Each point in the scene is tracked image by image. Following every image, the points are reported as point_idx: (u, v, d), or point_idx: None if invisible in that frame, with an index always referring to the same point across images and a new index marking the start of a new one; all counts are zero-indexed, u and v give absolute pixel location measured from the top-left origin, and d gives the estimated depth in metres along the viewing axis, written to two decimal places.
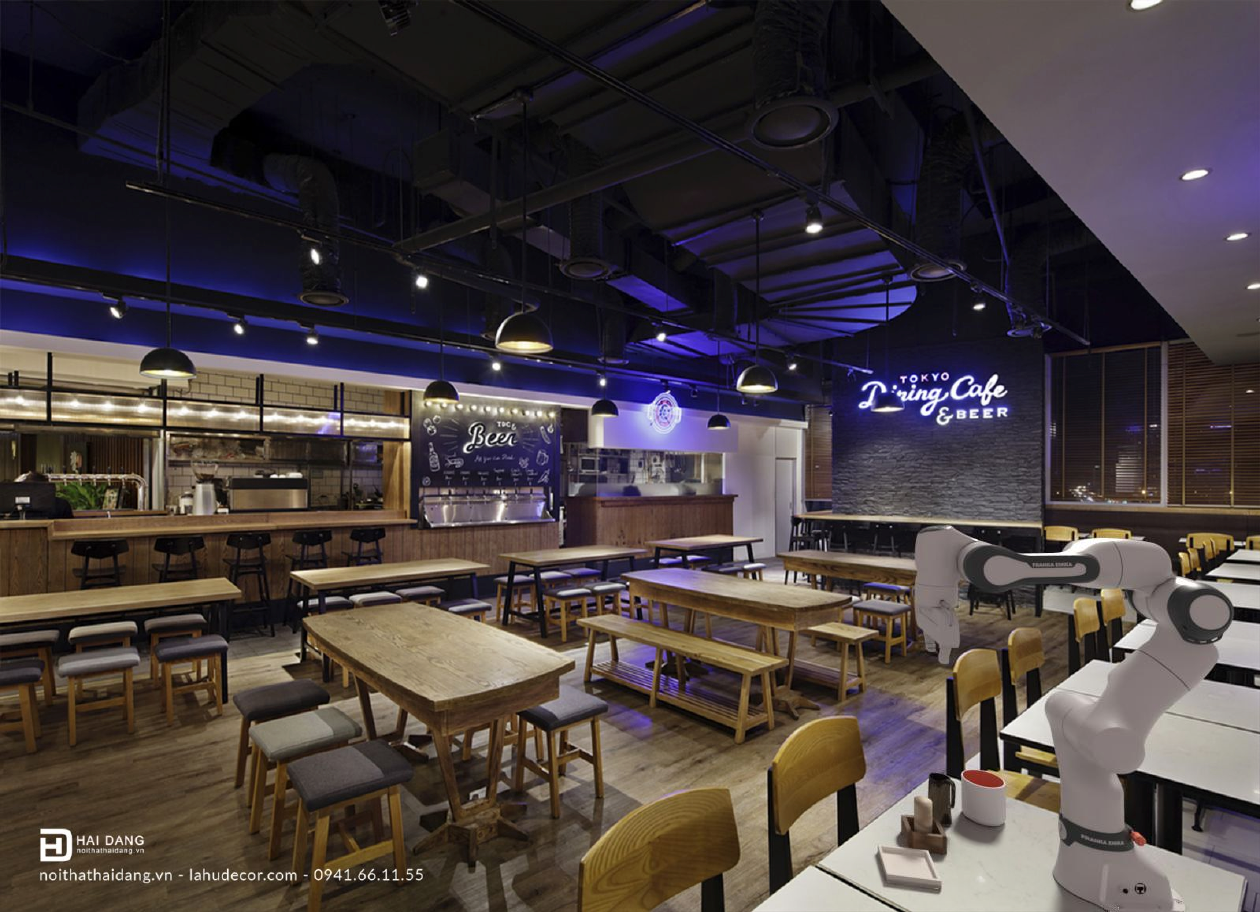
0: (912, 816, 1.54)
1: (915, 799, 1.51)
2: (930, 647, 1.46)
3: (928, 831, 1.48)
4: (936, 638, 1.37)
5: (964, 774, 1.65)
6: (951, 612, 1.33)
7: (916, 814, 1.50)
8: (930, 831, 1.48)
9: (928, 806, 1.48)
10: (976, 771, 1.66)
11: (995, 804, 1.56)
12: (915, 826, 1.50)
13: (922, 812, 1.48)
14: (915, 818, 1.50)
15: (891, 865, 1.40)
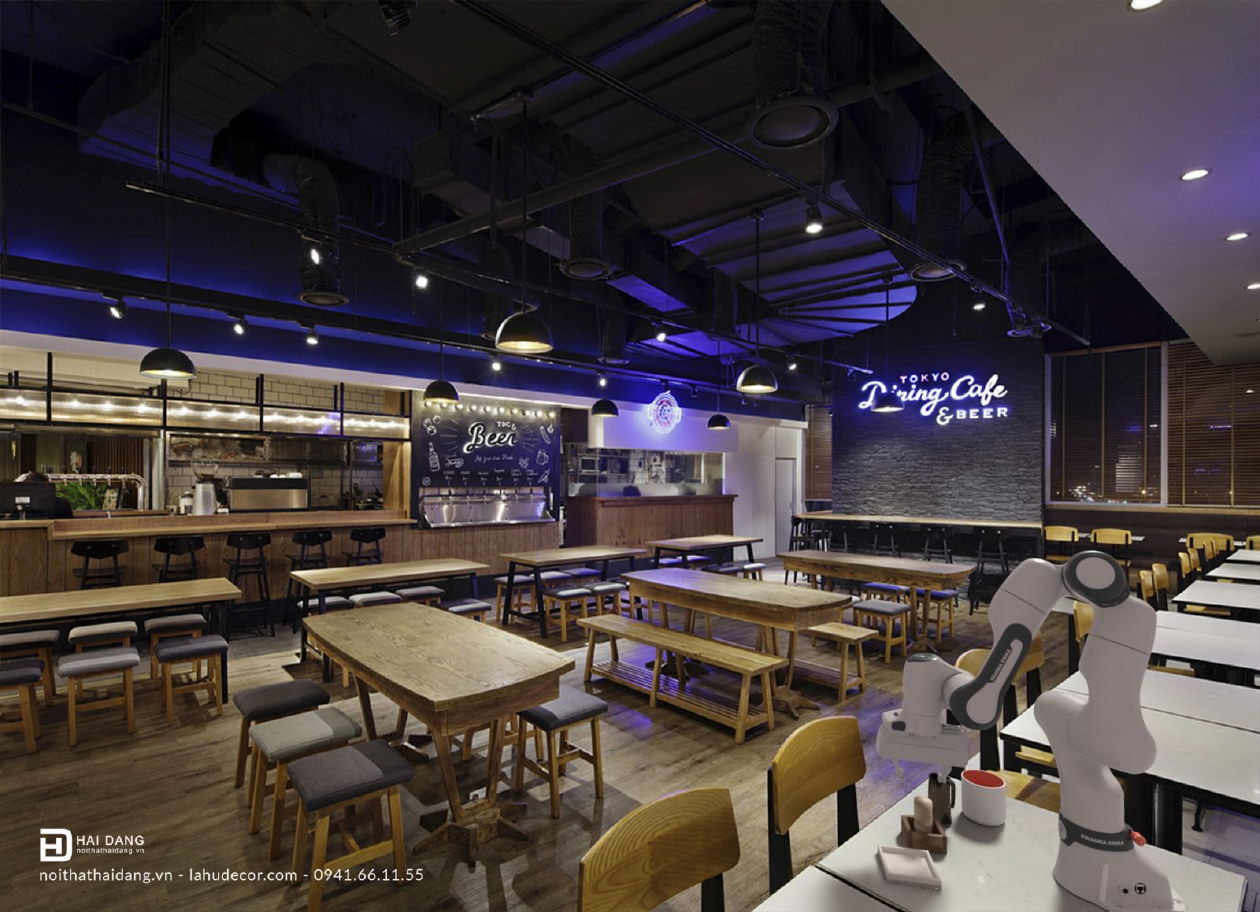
0: (912, 816, 1.54)
1: (915, 799, 1.51)
2: None
3: (928, 831, 1.48)
4: (950, 762, 1.48)
5: (964, 774, 1.65)
6: None
7: (916, 814, 1.50)
8: (930, 831, 1.48)
9: (928, 806, 1.48)
10: (976, 771, 1.66)
11: (995, 804, 1.56)
12: (915, 826, 1.50)
13: (922, 812, 1.48)
14: (915, 818, 1.50)
15: (891, 865, 1.40)
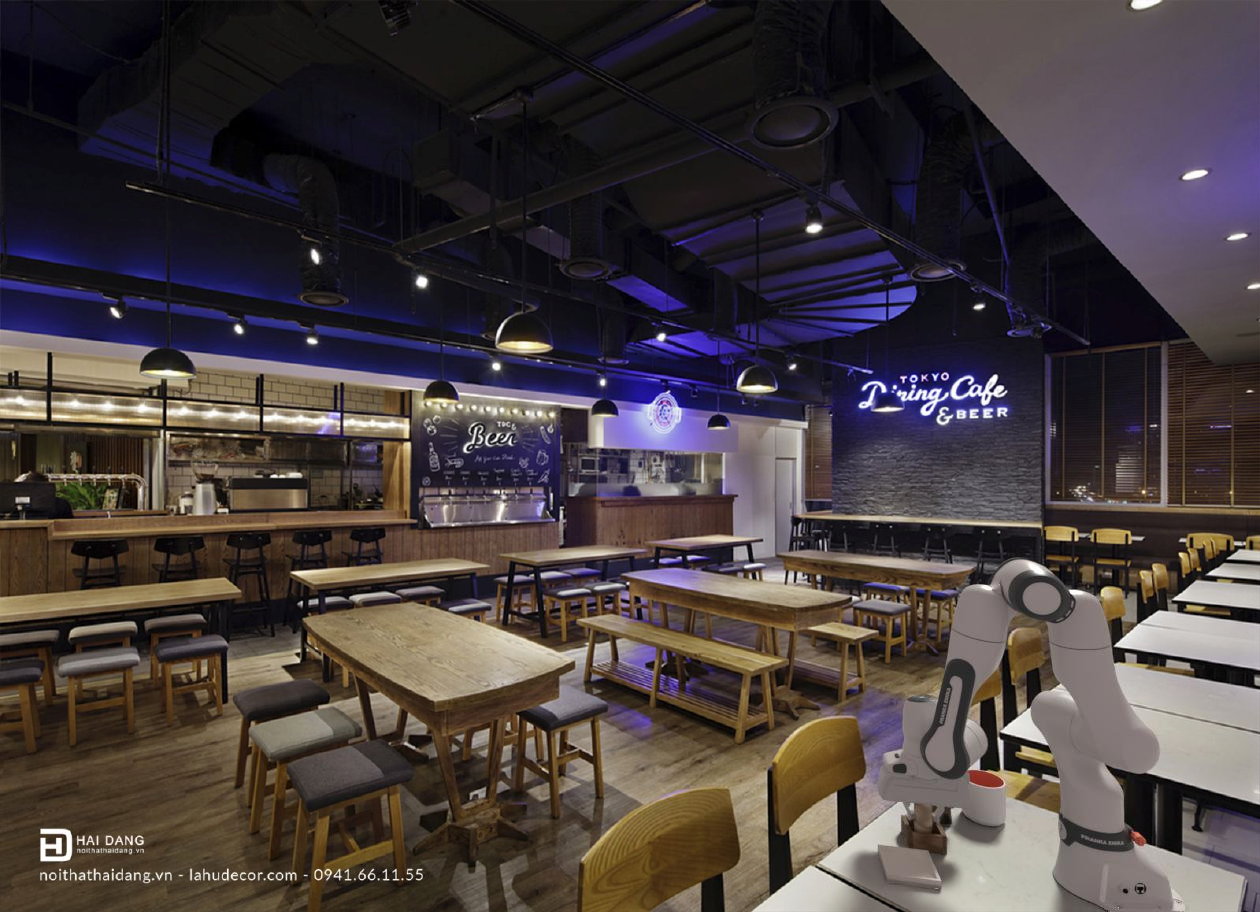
0: None
1: None
2: None
3: (928, 831, 1.48)
4: (952, 803, 1.47)
5: None
6: (968, 773, 1.48)
7: (916, 814, 1.50)
8: (930, 831, 1.48)
9: (928, 806, 1.48)
10: (976, 771, 1.66)
11: (995, 804, 1.56)
12: (915, 826, 1.50)
13: (922, 812, 1.48)
14: (915, 818, 1.50)
15: (891, 865, 1.40)
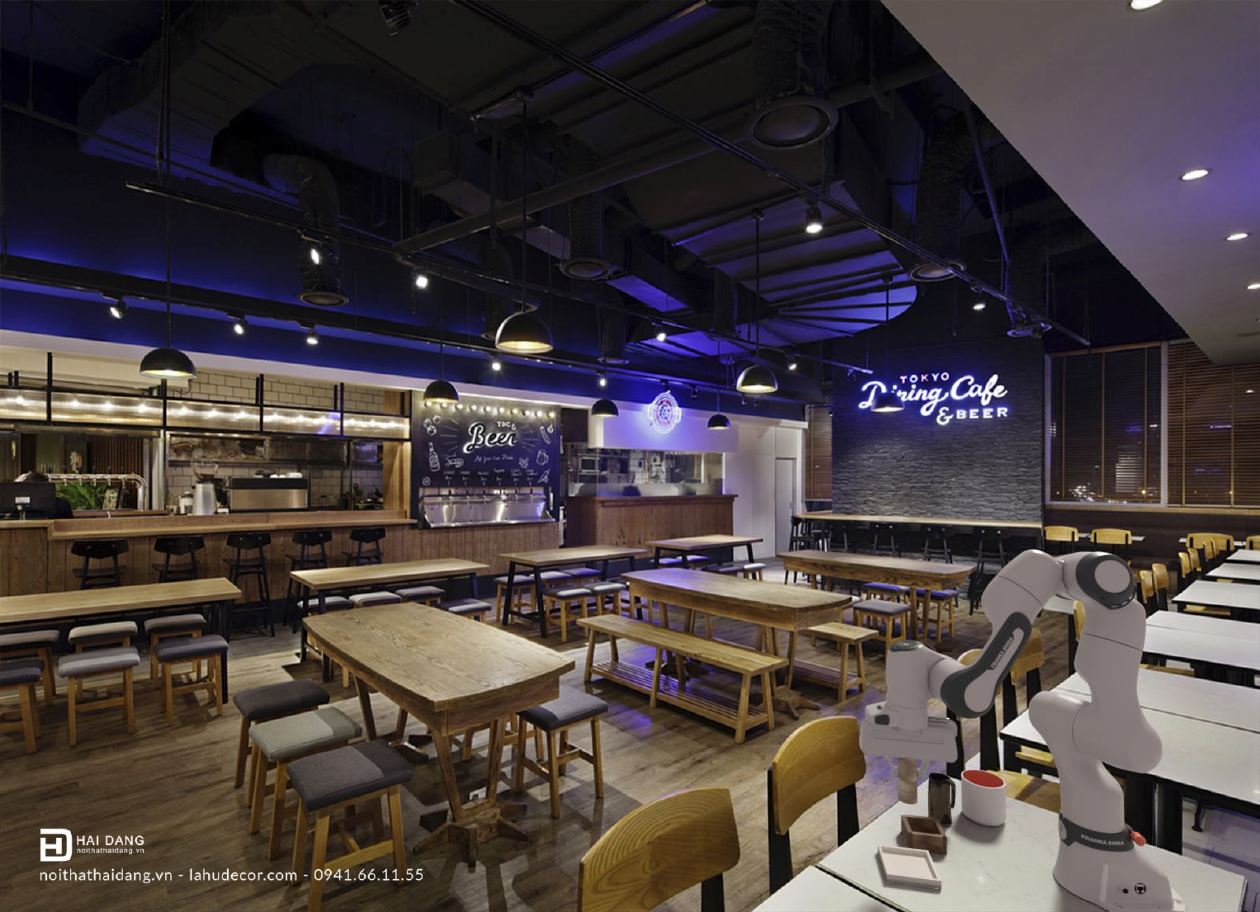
0: (912, 816, 1.54)
1: None
2: None
3: (913, 787, 1.38)
4: (938, 757, 1.37)
5: (964, 774, 1.65)
6: (955, 725, 1.38)
7: (900, 769, 1.39)
8: (915, 787, 1.38)
9: (912, 760, 1.38)
10: (976, 771, 1.66)
11: (995, 804, 1.56)
12: (899, 782, 1.40)
13: (907, 767, 1.38)
14: (899, 773, 1.40)
15: (891, 865, 1.40)
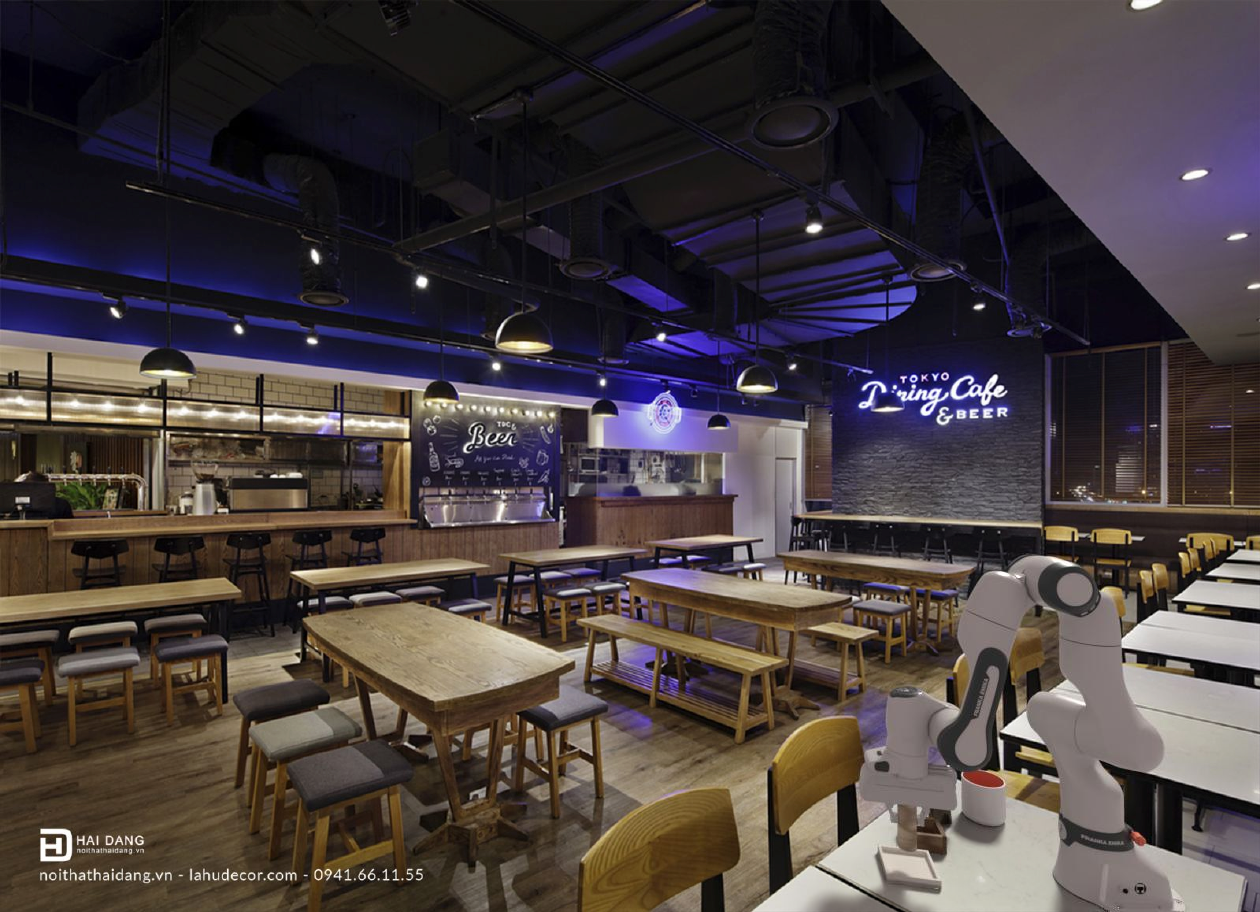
0: None
1: None
2: None
3: (912, 835, 1.38)
4: (938, 805, 1.37)
5: (964, 774, 1.65)
6: (955, 772, 1.38)
7: (899, 816, 1.39)
8: (914, 834, 1.38)
9: (912, 807, 1.38)
10: (976, 771, 1.66)
11: (995, 804, 1.56)
12: (898, 829, 1.40)
13: (906, 814, 1.38)
14: (898, 820, 1.40)
15: (891, 865, 1.40)
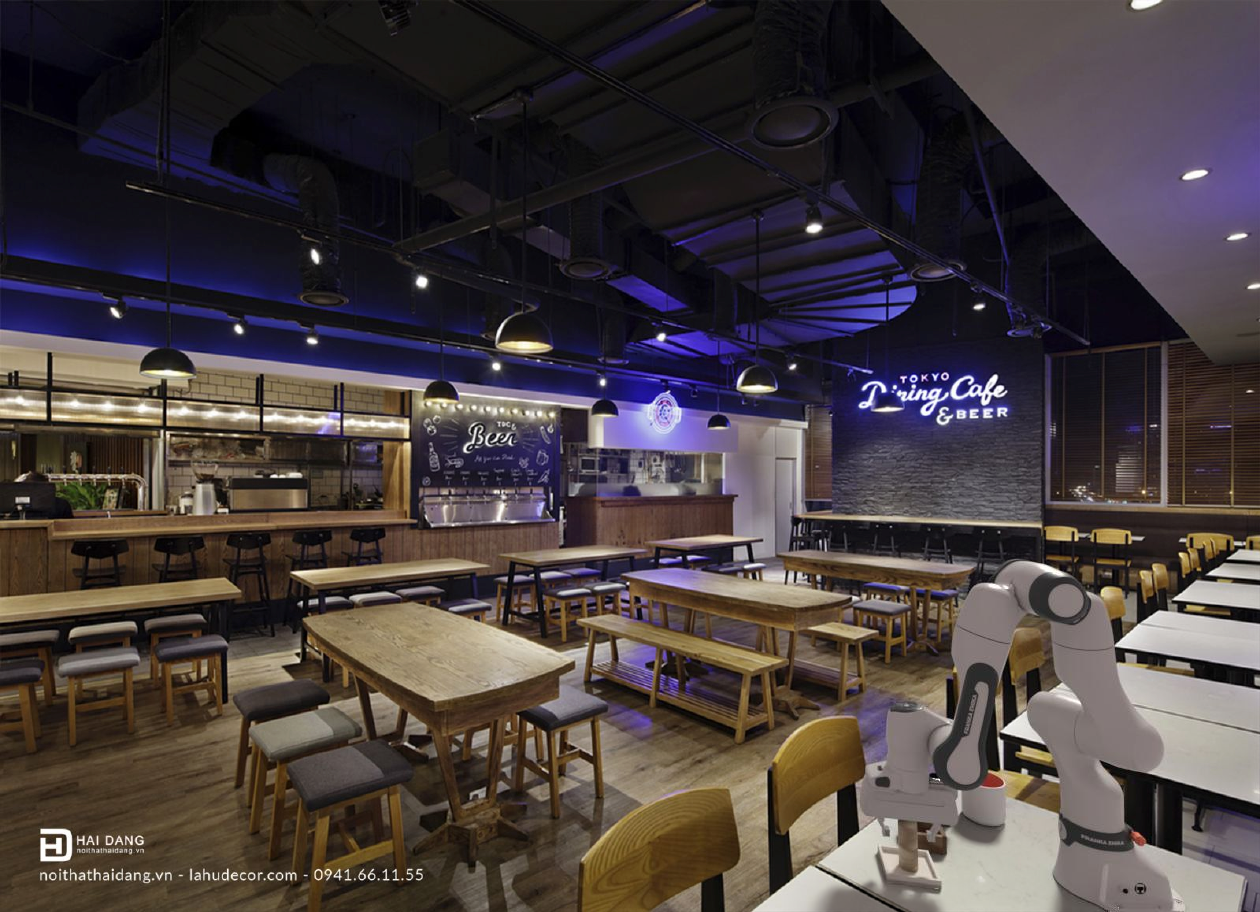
0: None
1: (899, 820, 1.40)
2: None
3: (913, 855, 1.38)
4: (939, 820, 1.37)
5: None
6: None
7: (900, 836, 1.39)
8: (915, 854, 1.38)
9: (912, 828, 1.38)
10: None
11: (995, 804, 1.56)
12: (899, 849, 1.39)
13: (907, 834, 1.38)
14: (899, 841, 1.39)
15: (891, 865, 1.40)
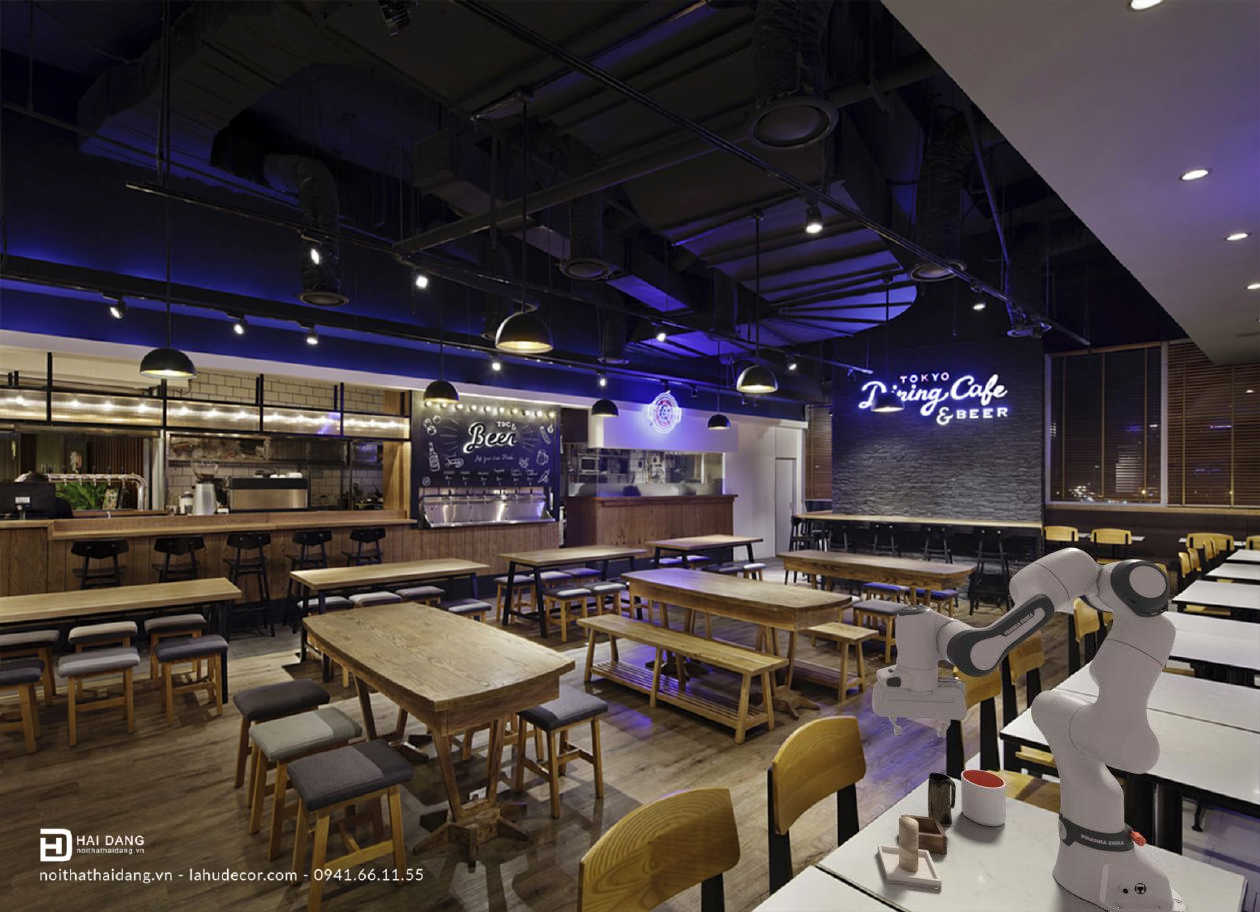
0: (912, 816, 1.54)
1: (900, 820, 1.40)
2: None
3: (914, 855, 1.38)
4: (948, 715, 1.42)
5: (964, 774, 1.65)
6: (964, 683, 1.43)
7: (901, 836, 1.39)
8: (916, 855, 1.38)
9: (913, 828, 1.38)
10: (976, 771, 1.66)
11: (995, 804, 1.56)
12: (900, 849, 1.39)
13: (908, 835, 1.38)
14: (900, 840, 1.39)
15: (891, 865, 1.40)
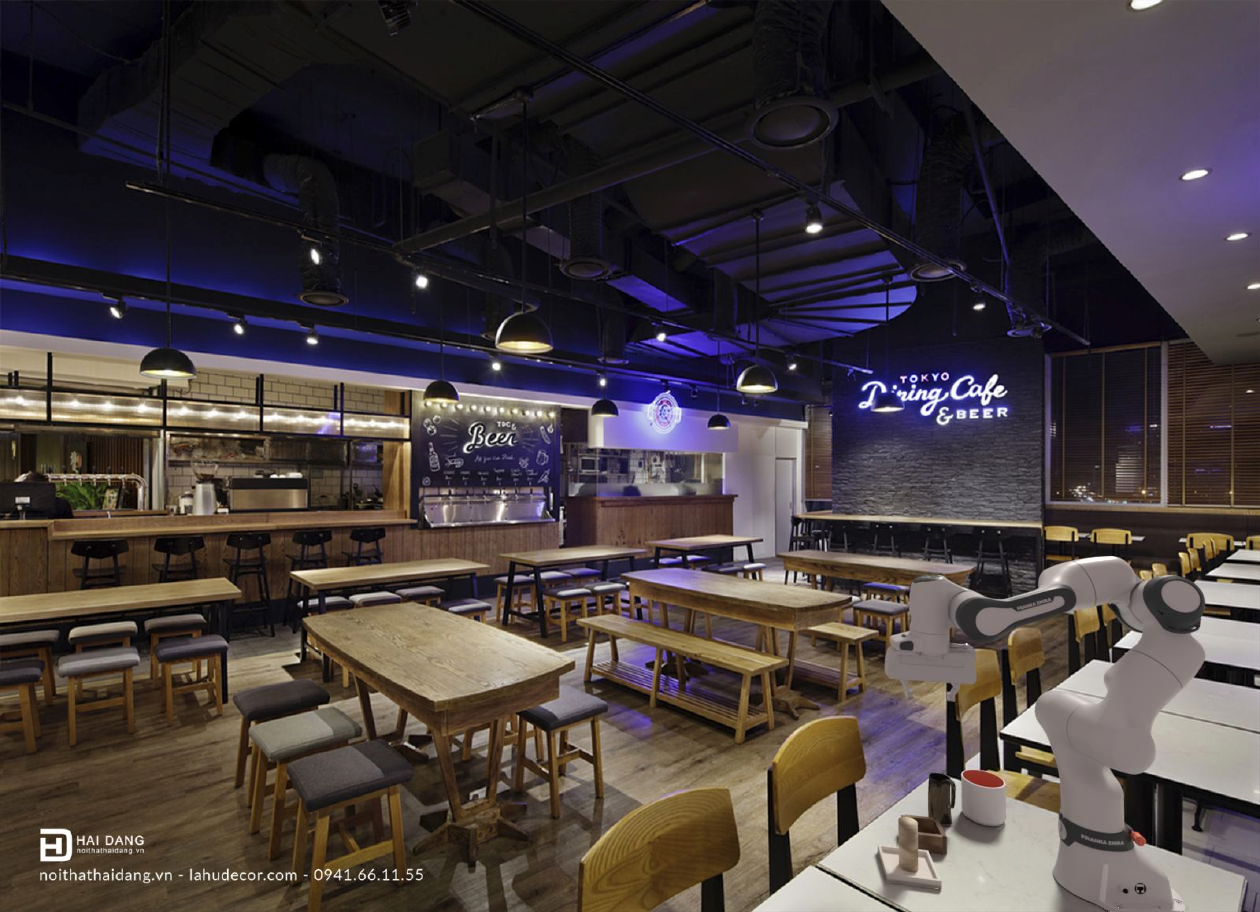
0: (912, 816, 1.54)
1: (899, 820, 1.40)
2: None
3: (913, 855, 1.38)
4: (958, 679, 1.48)
5: (964, 774, 1.65)
6: (974, 650, 1.50)
7: (900, 836, 1.39)
8: (915, 855, 1.38)
9: (913, 828, 1.38)
10: (976, 771, 1.66)
11: (995, 804, 1.56)
12: (899, 849, 1.39)
13: (907, 835, 1.38)
14: (899, 841, 1.39)
15: (891, 865, 1.40)
